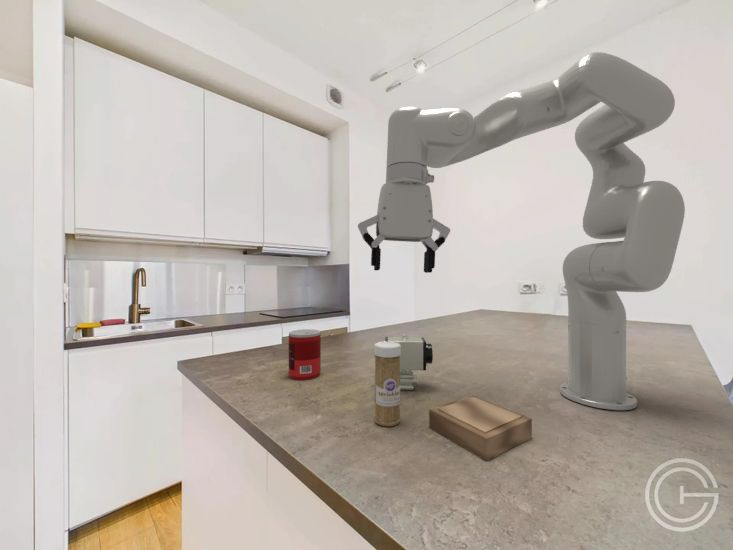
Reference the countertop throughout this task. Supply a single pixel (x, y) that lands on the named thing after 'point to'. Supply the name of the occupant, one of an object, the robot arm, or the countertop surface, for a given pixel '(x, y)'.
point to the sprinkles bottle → (387, 383)
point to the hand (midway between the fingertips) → (402, 271)
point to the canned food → (304, 354)
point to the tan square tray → (480, 426)
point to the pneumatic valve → (412, 358)
